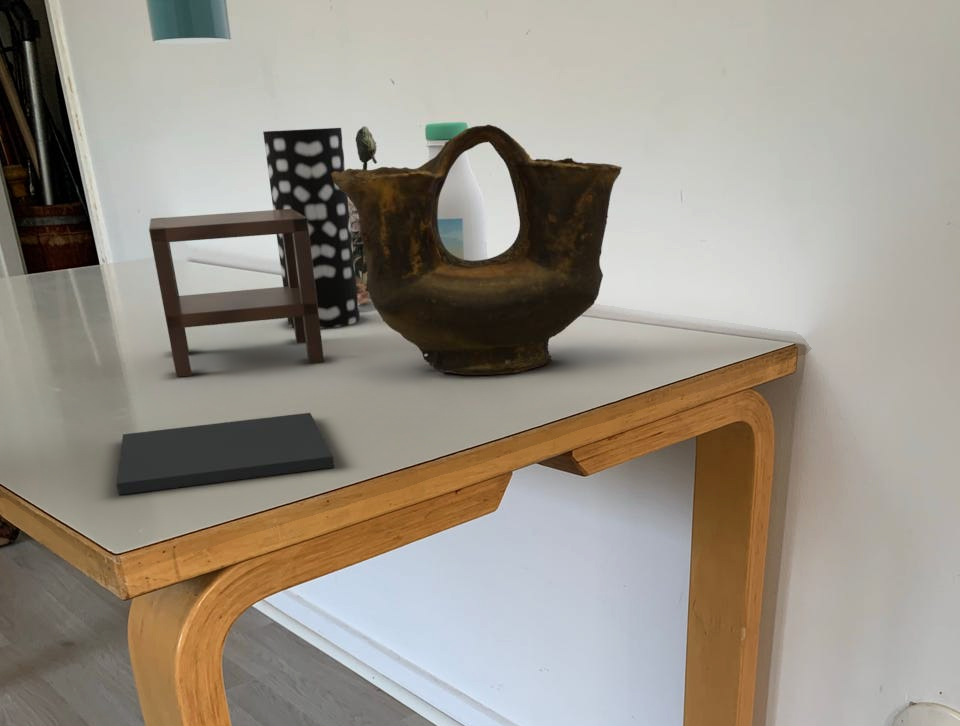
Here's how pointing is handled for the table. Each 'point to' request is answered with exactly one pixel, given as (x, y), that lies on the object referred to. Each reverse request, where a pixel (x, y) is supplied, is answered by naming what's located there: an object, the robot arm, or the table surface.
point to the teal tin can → (189, 21)
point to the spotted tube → (317, 214)
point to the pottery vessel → (490, 282)
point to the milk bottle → (458, 199)
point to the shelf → (244, 303)
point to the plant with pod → (366, 153)
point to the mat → (221, 453)
